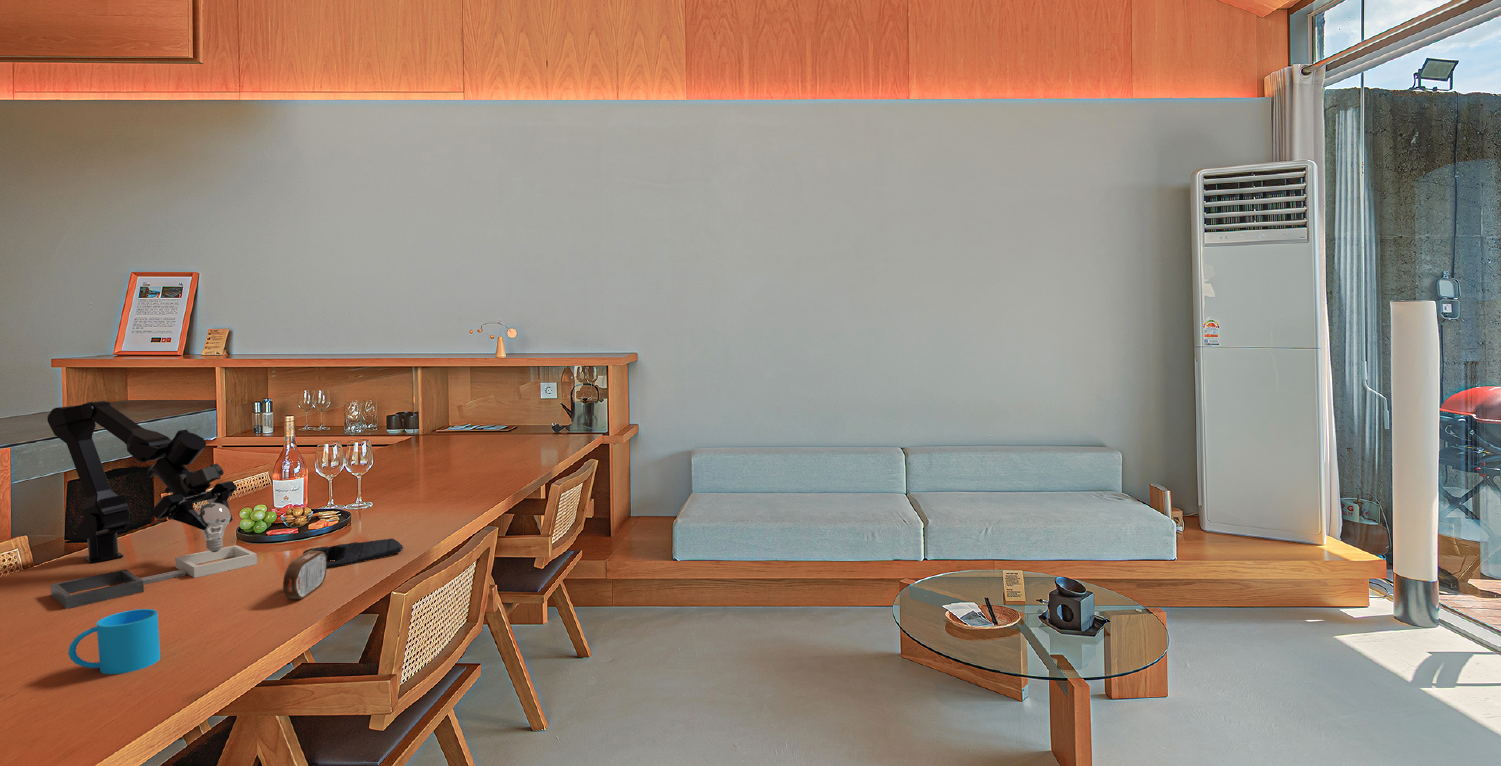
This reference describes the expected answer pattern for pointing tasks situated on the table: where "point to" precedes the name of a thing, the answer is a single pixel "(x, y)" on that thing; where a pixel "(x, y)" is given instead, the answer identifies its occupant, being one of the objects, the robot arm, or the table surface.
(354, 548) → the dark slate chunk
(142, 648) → the mug
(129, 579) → the collar
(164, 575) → the rail strip
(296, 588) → the tin
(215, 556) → the collar
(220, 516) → the light bulb
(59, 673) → the table surface
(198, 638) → the table surface
